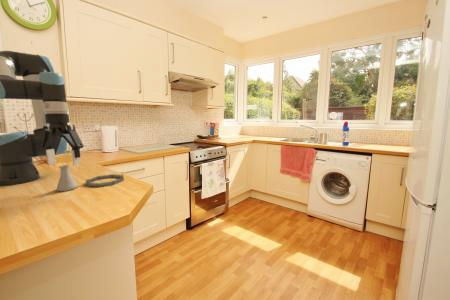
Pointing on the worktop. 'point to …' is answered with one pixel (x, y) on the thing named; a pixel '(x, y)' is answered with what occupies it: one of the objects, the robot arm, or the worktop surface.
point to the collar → (88, 182)
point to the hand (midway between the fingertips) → (64, 165)
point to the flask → (66, 180)
